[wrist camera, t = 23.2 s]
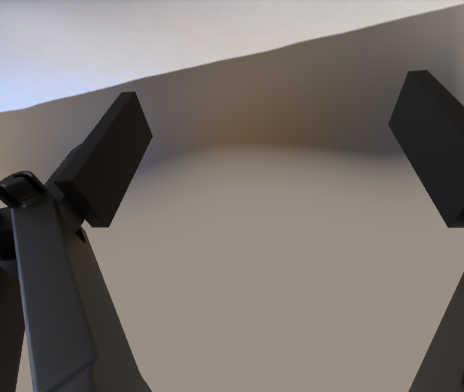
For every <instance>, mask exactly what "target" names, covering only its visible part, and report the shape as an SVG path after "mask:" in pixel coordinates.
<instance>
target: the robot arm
mask: <svg viewBox="0 0 464 392" xmlns="http://www.w3.org/2000/svg"><path fill="white" fill-rule="evenodd" d="M388 125H389V127H390V129H391V130H392V132H393V134H394V135H395V137H396V139H397V140H398V142H399V144H400V146H401V148H402V149H403V151H404V153H405V154H406V156H407V158H408V160H409V161H410V163H411V165H412V167H413V168H414V170H415V172H416V173H417V175H418V177H419V178H420V180H421V182H422V184H423V185H424V187H425V189H426V191H427V192H428V194H429V196H430V198H431V199H432V201H433V203H434V204H435V206H436V208H437V209H438V211H439V213H440V215H441V216H442V218H443V220H444V222H445V223H446V225H447V227H449V228H464V106H463V105H462V104H461V103H460V102H459V101H458V100H457V99H456V98H455V97H454V96H453V95H451V93H450V92H449V91H448V90H447V89H446V88H445V87H444V86H442V84H440V83H439V82H438V81H437V80H436V79H435V78H434V77H433V76H432V75H431V74H430V73H429V72H428V71H427V70H422V71H409V72H408V74H407V77H406V79H405V82H404V84H403V87H402V90H401V92H400V95H399V97H398V100H397V103H396V105H395V109H394V111H393V113H392V116H391V119H390V122H389V124H388ZM152 137H153V136H152V133H151V131H150V128H149V126H148V123H147V121H146V118H145V116H144V113H143V110H142V108H141V105H140V103H139V100H138V98H137V95H136V93H135V92H122V93H121V94H120V95H119V96H118V97H117V99H116V100H115V101H114V103H113V104H112V105H111V107H110V108H109V109H108V111H107V112H106V113H105V115H104V116H103V117H102V118H101V120H100V121H99V122H98V124H97V125H96V126H95V128H94V129H93V130H92V132H91V133H90V134H89V135H88V137H87V138H86V139H85V141H84V142H83V143H82V144H80V145H78V146H77V147H76V148H74V149H73V150H72V151H71V152H70V153H69V154H68V155H67V157H66V158H65V160H64V161H63V162H62V163H61V164H60V167H58V168H57V169H56V171H55V172H54V173H53V174H52V176H51V177H50V178H49V179H48V181H47V182H46V183H45V185H43V184H42V183H41V182H40V181H39V180H38V178H37V177H36V176H35V175H34V174H33V173H32V172H29V171H21V172H17V173H14V174H12V175H10V176H8V177H6V178H4V179H3V180H2V181H0V200H1V201H2V202H3V203H5V204H6V205H7V206H8V207H5V208H1V209H0V392H15V390H16V384H17V377H18V370H19V364H20V358H21V351H22V345H23V338H24V332H25V329H26V337H27V345H28V353H29V361H30V369H31V376H32V385H33V392H152V391H151V389H150V388H149V386H148V385H147V383H146V382H145V381H144V379H143V378H142V376H141V374H140V372H139V370H138V367H137V365H136V362H135V359H134V357H133V354H132V352H131V349H130V346H129V344H128V341H127V339H126V336H125V333H124V331H123V328H122V326H121V323H120V320H119V318H118V315H117V313H116V310H115V307H114V305H113V302H112V300H111V297H110V294H109V292H108V289H107V287H106V284H105V281H104V279H103V276H102V273H101V271H100V268H99V266H98V263H97V260H96V258H95V255H94V253H93V250H92V247H91V245H90V242H89V240H88V237H87V235H86V232H85V230H84V229H83V228H82V227H81V225H82V223H83V222H84V220H86V221H87V222H88V223H89V224H90V225H91V227H109V226H110V224H111V222H112V220H113V218H114V216H115V213H116V211H117V209H118V207H119V205H120V203H121V201H122V199H123V197H124V195H125V193H126V191H127V189H128V186H129V184H130V182H131V180H132V178H133V176H134V174H135V172H136V170H137V168H138V166H139V163H140V162H141V159H142V157H143V155H144V153H145V151H146V149H147V147H148V145H149V143H150V141H151V139H152ZM409 392H464V273H463V275H462V277H461V279H460V281H459V283H458V286H457V288H456V290H455V292H454V294H453V297H452V299H451V301H450V303H449V305H448V307H447V309H446V312H445V314H444V316H443V318H442V320H441V322H440V325H439V327H438V329H437V331H436V333H435V335H434V338H433V340H432V342H431V344H430V346H429V349H428V351H427V353H426V355H425V357H424V359H423V361H422V364H421V366H420V368H419V370H418V372H417V374H416V377H415V379H414V381H413V383H412V385H411V387H410V390H409Z"/></svg>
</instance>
